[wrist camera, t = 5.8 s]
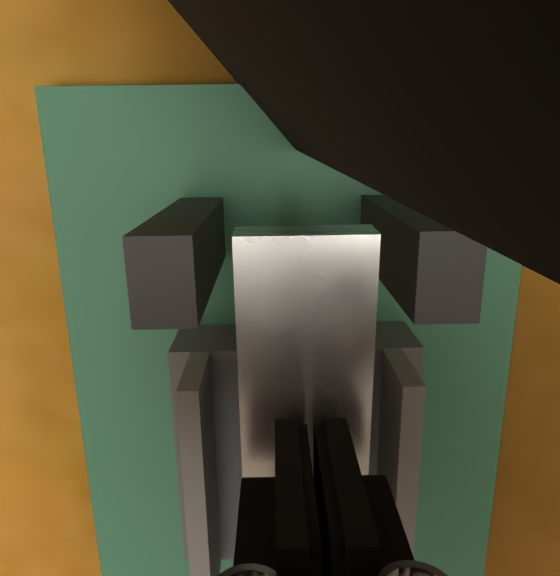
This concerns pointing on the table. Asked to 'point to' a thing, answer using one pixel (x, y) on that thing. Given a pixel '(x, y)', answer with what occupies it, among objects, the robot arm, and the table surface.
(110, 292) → the board
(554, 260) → the electrical component
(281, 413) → the grey long flat bar
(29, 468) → the table surface
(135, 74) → the table surface
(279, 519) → the robot arm
